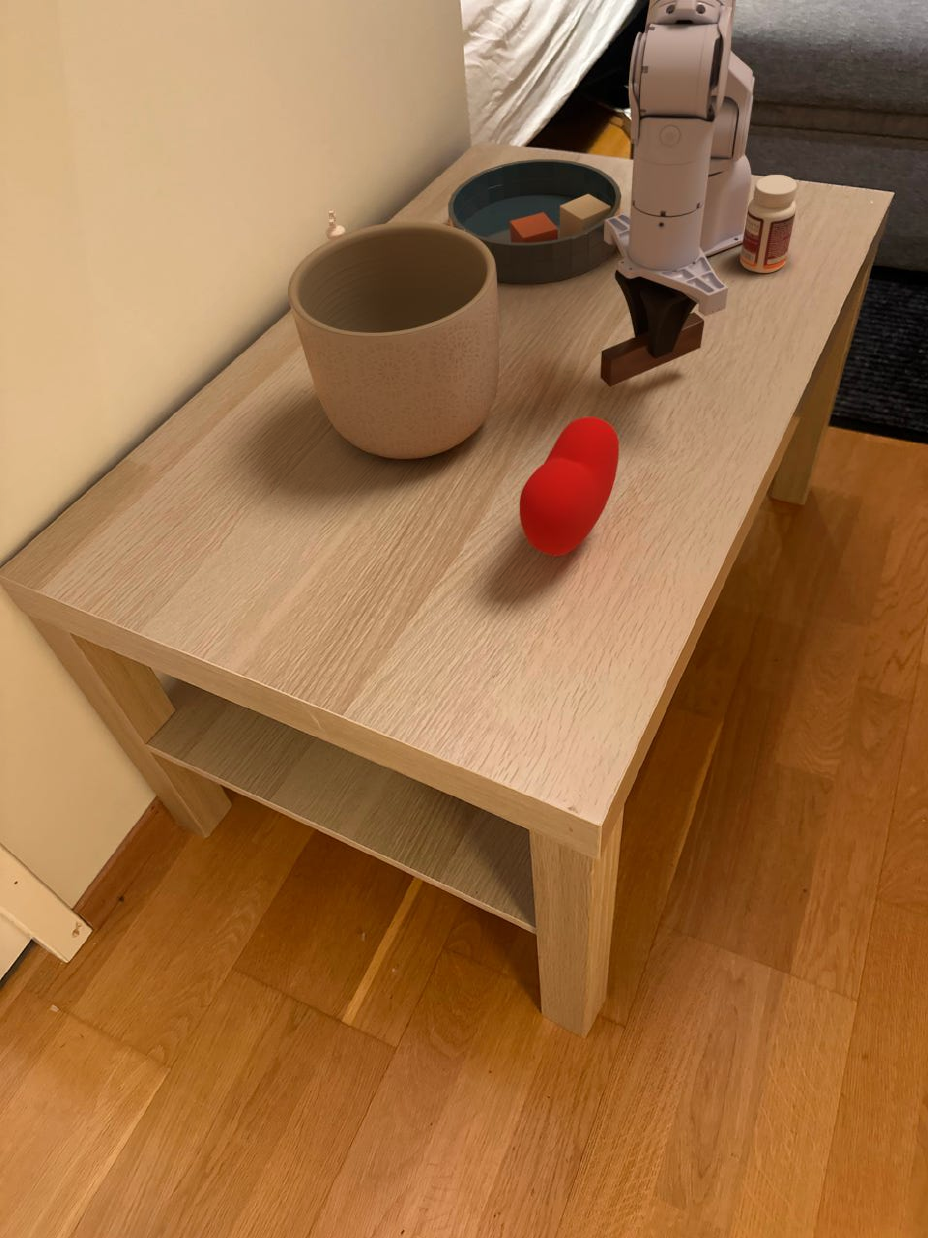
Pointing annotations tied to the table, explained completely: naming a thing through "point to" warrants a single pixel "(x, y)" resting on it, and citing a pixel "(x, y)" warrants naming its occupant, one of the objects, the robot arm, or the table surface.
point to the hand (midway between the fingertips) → (654, 347)
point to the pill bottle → (769, 224)
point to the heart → (570, 487)
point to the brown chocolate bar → (647, 353)
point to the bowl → (527, 192)
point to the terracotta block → (533, 229)
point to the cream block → (581, 215)
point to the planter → (400, 335)
